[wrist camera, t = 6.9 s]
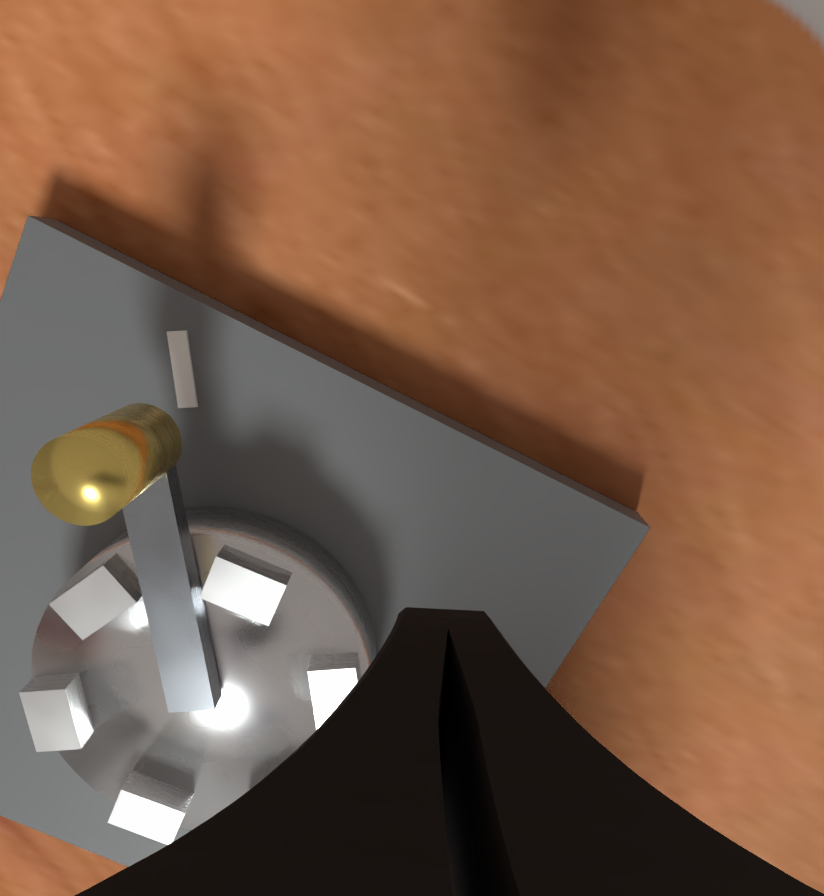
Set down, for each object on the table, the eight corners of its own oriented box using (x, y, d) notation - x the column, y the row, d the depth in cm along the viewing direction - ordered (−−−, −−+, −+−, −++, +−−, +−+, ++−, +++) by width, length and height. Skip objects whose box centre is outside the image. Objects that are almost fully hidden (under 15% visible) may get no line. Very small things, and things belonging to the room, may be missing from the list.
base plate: (368, 928, 24) (365, 964, 23) (-119, 729, 22) (-152, 758, 21) (637, 511, 19) (651, 529, 18) (54, 218, 17) (25, 215, 16)
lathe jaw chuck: (391, 768, 20) (380, 933, 15) (107, 787, 21) (5, 953, 16) (341, 370, 17) (306, 414, 12) (5, 401, 17) (-165, 456, 12)
